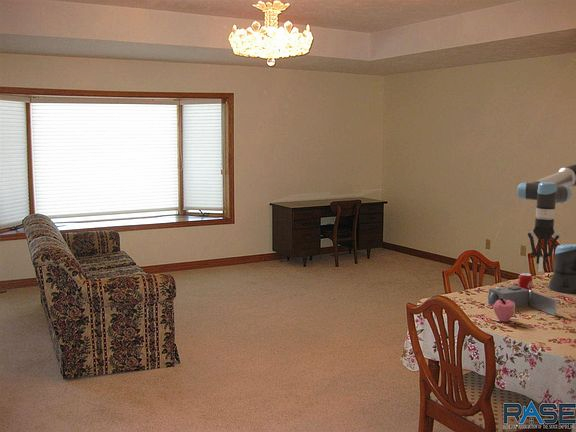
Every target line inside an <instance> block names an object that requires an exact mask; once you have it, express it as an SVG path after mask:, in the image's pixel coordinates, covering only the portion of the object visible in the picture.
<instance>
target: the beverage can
mask: <svg viewBox="0 0 576 432" xmlns="http://www.w3.org/2000/svg"><path fill="white" fill-rule="evenodd" d="M517 286H518V287H521V288H524V289H527V290H533V289H532V288H533V287H532V286H533V276H532V274H531V273H527V272H520V273H519V275H518V276H517Z"/></svg>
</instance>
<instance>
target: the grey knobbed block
mask: <svg viewBox="0 0 576 432" xmlns="http://www.w3.org/2000/svg"><path fill="white" fill-rule="evenodd" d="M488 289H489V290H488V296H487V299H488V300H487V301H488V302H487V303H488V304H489V305H492V306H494V304H495V302H496V301H497V300H500V299H501V298H502V299H505V300H511V301H513V302H514V303H515V308H518V307H519V308H520V307H525V306H529V305H528V301H529V290H527V289H524V288H521V287H518V285H508V286H501V287H500V286H496V287H490V288H488Z"/></svg>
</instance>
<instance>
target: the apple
mask: <svg viewBox="0 0 576 432" xmlns="http://www.w3.org/2000/svg"><path fill="white" fill-rule="evenodd" d="M492 309H493V312H494V313H495V315H496V318H497V319H498V320H499V321H500V322H504V323H507V322H510V320H511V318H512V317H513V316H514V315H515V310H516V307H515V303H514V302H513V301H511V300H505V299H502V298H501V299H500V300H497V301H496V302H495V304H494V305H493V308H492Z"/></svg>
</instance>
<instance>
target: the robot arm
mask: <svg viewBox="0 0 576 432" xmlns="http://www.w3.org/2000/svg"><path fill="white" fill-rule="evenodd" d="M570 187H576V163H575V164H572V165H569V166H568V165H567V166H566V167H562V168H560V169H559V170H558V171H557V172H555V173H553V174H549V175H548V176H545V177H542V178H540V179H537V180H535V181H533V182H527V181H526V182H521V183H519V184H518V186H517V190H516V191H517V196H518V198H519V199H523V200H525V201H527V200H530V201H536V207H535V217H536V218H534V219H535V221H534V222H535V223H534V228H533V229H532V231H530V232H528V233H527V236H528V237H529V242H530V246H531V253H532V255H534V256H536V262H535V263H536V264H537V265H538V269H537V270H538V273H543V271H544V270H543V268H544V265H546V264H547V258H548V257H551V256H552V253H553V251H554V248H555V245H556V242H557V240H558V239H559V238H560V235H559V234H557V233H556V232H555V229H554V226H555V215H556V204H563V203H566V202H568V201H569V200H570V199H571V197H572V190H571V188H570ZM534 236H536V238H537V247H536V245H535V239H534ZM551 237H552V238H553V240H552V243H551V246H550V248H549V250H548V243H549V239H550V238H551ZM542 240H544V243H543V254H542V255H541V252H542V251H541V250H542ZM536 248H537V249H536ZM553 263H554V264H553V265H554V266H553V274H552V275H551V278H550V280H549V281H548V282H549V283H548V288H549V289H550V290H552V291H556V292H559V293H565V294H576V243H575V244H573V243H569V244H568V243H566V244H559V245H557V246H556V248H555V252H554V262H553Z"/></svg>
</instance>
